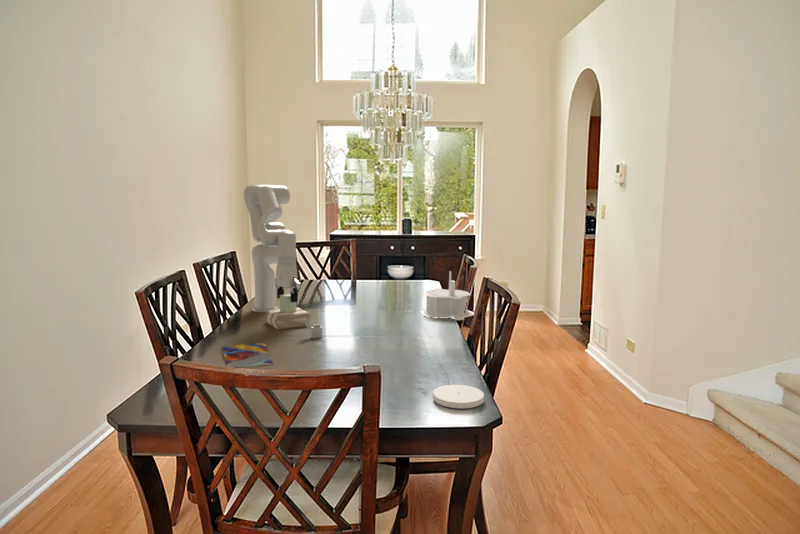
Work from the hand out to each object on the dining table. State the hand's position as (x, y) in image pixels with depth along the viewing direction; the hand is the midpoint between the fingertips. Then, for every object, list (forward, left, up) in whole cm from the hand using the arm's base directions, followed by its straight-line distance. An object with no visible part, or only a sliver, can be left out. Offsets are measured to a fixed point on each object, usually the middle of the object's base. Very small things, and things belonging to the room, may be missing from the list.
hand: (287, 300), depth 238 cm
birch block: (+1, 0, -11) cm, 11 cm away
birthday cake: (+36, +65, -11) cm, 75 cm away
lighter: (+26, -6, -11) cm, 29 cm away
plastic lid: (+107, -19, -11) cm, 109 cm away
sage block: (0, 0, -5) cm, 5 cm away
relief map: (+29, -38, -11) cm, 49 cm away
